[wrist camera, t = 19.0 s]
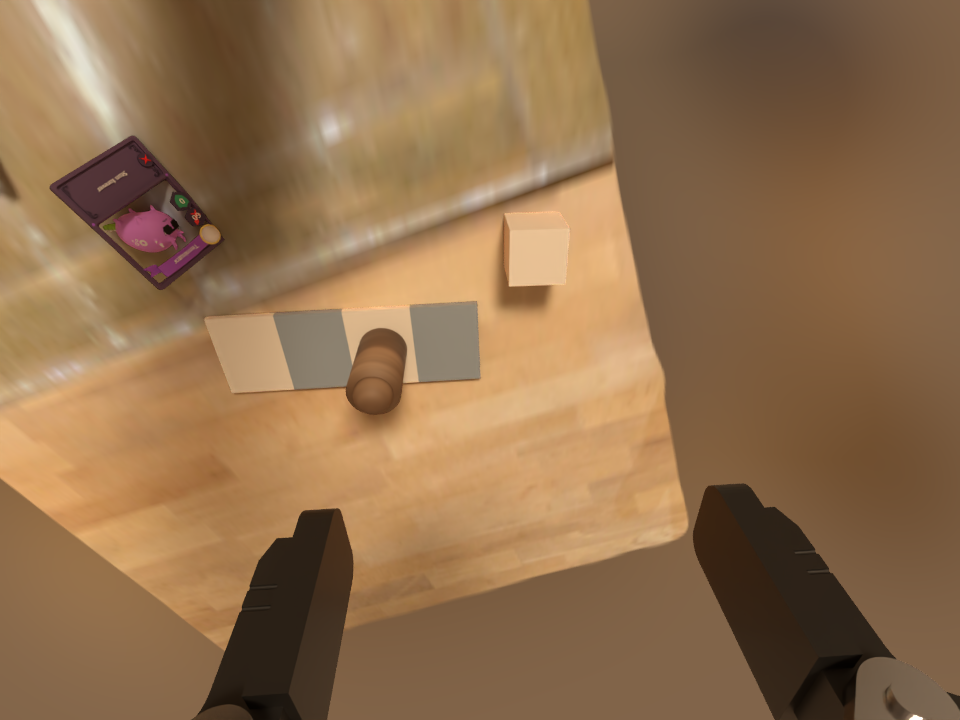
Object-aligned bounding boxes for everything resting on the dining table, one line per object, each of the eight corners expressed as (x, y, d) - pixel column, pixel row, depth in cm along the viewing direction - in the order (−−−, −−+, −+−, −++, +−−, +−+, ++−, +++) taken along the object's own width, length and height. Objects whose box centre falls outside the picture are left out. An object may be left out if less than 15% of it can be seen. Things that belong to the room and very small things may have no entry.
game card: (135, 131, 35) (231, 236, 40) (119, 150, 39) (208, 243, 44) (49, 183, 32) (164, 290, 37) (40, 198, 36) (146, 294, 41)
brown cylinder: (355, 329, 45) (336, 385, 37) (403, 326, 45) (394, 380, 37) (363, 370, 47) (347, 430, 40) (409, 367, 47) (402, 426, 40)
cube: (504, 213, 41) (509, 230, 37) (559, 211, 41) (570, 228, 37) (503, 265, 43) (509, 286, 39) (555, 263, 43) (565, 284, 39)
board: (206, 316, 44) (203, 319, 44) (476, 301, 45) (477, 304, 44) (234, 389, 48) (231, 393, 48) (480, 374, 49) (480, 378, 48)
